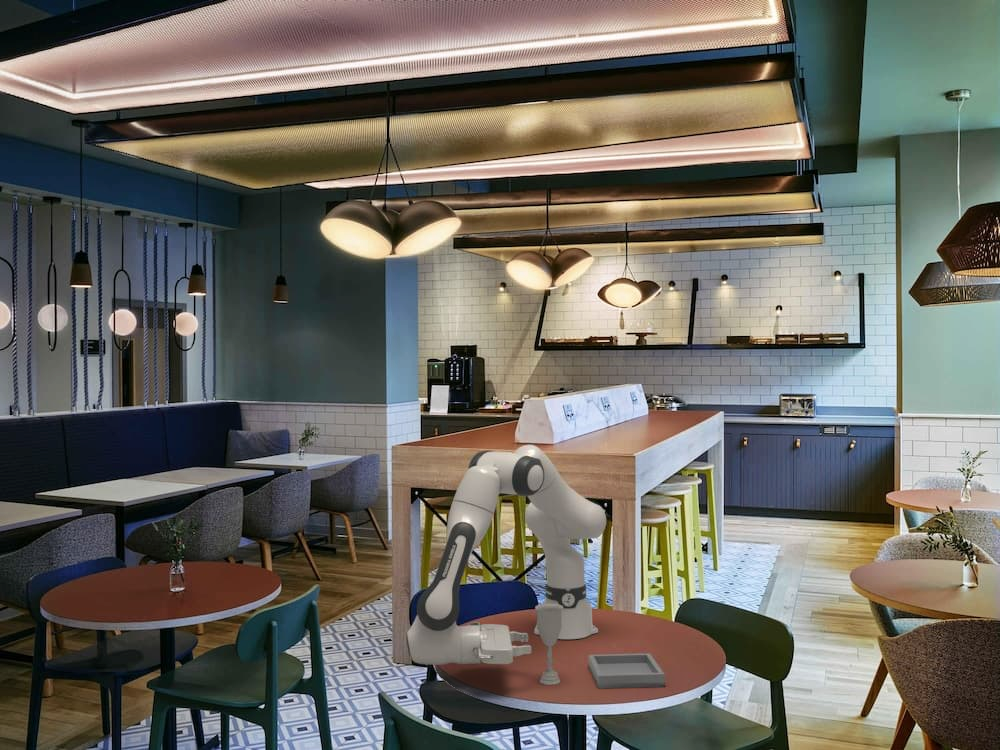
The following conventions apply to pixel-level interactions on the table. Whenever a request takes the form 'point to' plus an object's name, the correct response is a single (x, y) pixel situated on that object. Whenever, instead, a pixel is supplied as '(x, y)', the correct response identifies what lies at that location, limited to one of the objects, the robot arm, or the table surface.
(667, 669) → the table surface
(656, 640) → the table surface
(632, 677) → the tray
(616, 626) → the table surface
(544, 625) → the chalice
